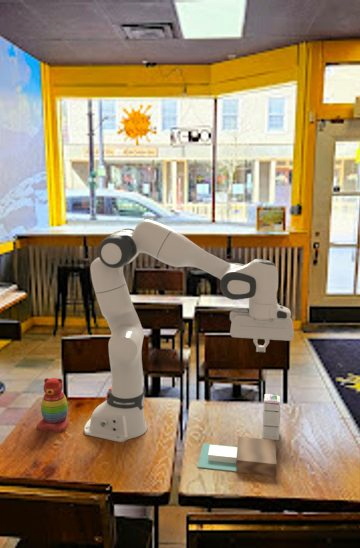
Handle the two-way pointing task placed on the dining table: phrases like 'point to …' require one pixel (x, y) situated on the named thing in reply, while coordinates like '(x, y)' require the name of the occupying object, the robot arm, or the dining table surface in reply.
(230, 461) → the cream rectangular block
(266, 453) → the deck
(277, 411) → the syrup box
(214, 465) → the mat
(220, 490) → the dining table surface
